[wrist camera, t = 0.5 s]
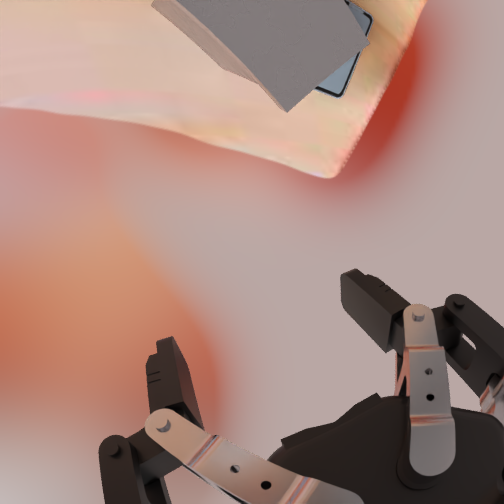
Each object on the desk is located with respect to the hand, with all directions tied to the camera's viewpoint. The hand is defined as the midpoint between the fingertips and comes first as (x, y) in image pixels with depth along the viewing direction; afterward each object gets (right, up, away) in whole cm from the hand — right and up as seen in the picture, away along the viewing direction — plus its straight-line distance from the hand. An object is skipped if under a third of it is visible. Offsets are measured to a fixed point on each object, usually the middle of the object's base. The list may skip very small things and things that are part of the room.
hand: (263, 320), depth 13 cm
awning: (-5, +29, +12) cm, 32 cm away
